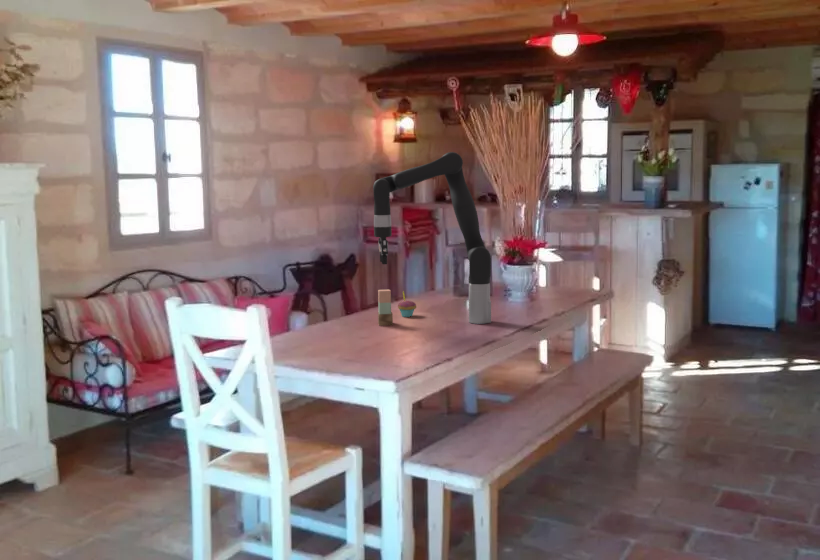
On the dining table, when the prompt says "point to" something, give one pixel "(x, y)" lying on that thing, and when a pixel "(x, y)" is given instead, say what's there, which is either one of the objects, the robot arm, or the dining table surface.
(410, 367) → the dining table surface
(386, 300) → the tan block
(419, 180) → the robot arm
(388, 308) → the sage block
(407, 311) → the cupcake
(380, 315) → the walnut base
